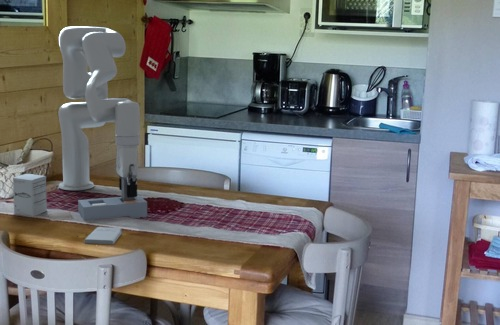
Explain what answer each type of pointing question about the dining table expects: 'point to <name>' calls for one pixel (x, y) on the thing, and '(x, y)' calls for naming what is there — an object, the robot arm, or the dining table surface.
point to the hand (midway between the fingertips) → (128, 193)
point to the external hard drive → (104, 235)
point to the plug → (125, 191)
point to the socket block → (112, 208)
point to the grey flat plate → (60, 216)
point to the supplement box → (29, 194)
